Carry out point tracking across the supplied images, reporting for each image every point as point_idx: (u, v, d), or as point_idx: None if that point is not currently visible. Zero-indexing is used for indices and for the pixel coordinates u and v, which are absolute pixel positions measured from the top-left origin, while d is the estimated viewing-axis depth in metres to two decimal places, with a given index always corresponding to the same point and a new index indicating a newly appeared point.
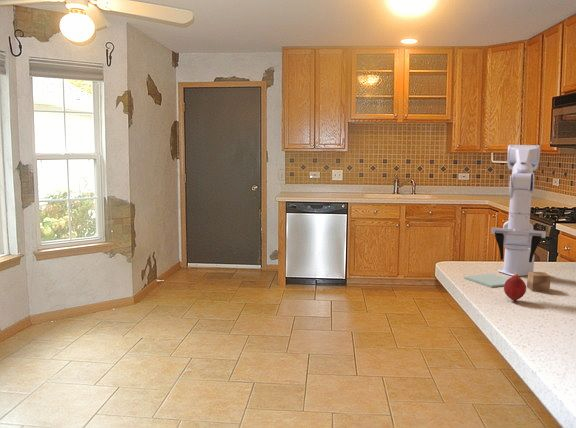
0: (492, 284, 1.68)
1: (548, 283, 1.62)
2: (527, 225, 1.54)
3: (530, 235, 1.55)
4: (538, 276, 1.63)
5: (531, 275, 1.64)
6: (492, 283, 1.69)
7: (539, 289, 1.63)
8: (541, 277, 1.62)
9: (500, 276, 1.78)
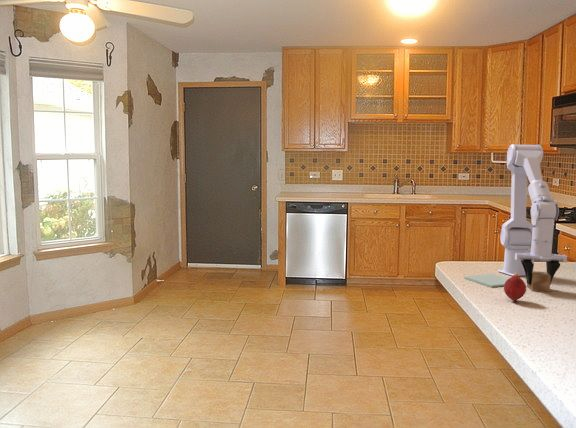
0: (492, 284, 1.68)
1: (548, 283, 1.62)
2: (551, 251, 1.62)
3: (552, 260, 1.64)
4: (538, 276, 1.63)
5: None
6: (492, 283, 1.69)
7: (539, 289, 1.63)
8: (541, 277, 1.62)
9: (500, 276, 1.78)
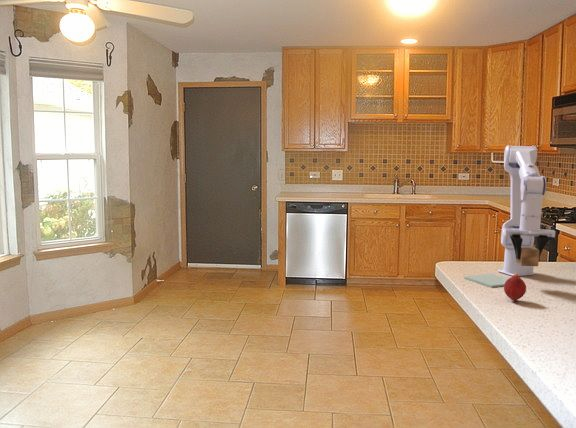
0: (492, 284, 1.68)
1: (537, 257, 1.64)
2: (539, 226, 1.64)
3: (540, 235, 1.65)
4: (527, 250, 1.64)
5: None
6: (492, 283, 1.69)
7: (528, 263, 1.64)
8: (530, 251, 1.64)
9: (500, 276, 1.78)
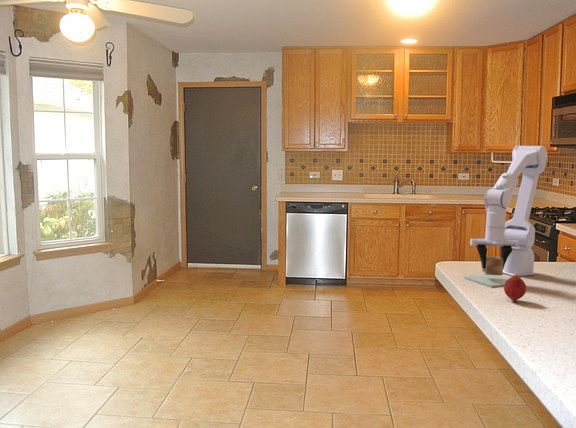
0: (492, 284, 1.68)
1: (501, 267, 1.71)
2: (503, 237, 1.71)
3: (505, 245, 1.72)
4: (491, 260, 1.71)
5: None
6: (492, 283, 1.69)
7: (493, 272, 1.71)
8: (494, 261, 1.71)
9: (500, 276, 1.78)
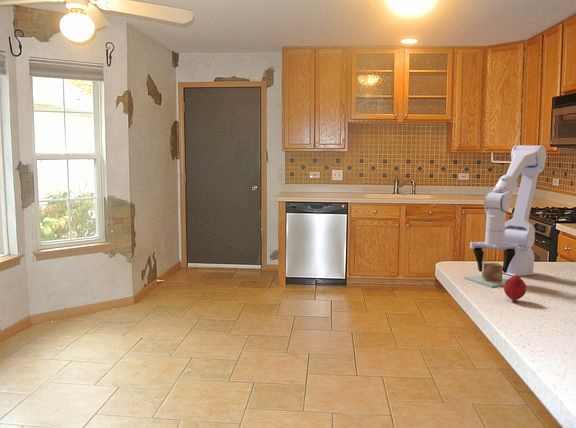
0: (492, 284, 1.68)
1: (500, 273, 1.71)
2: (503, 240, 1.71)
3: (505, 248, 1.72)
4: (491, 266, 1.71)
5: (485, 265, 1.73)
6: (492, 283, 1.69)
7: (492, 279, 1.72)
8: (494, 267, 1.71)
9: None
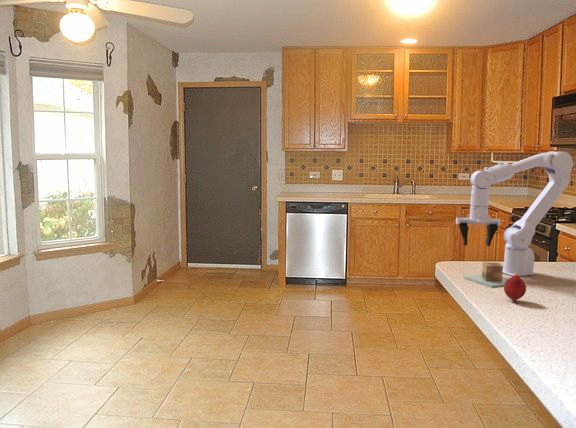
0: (492, 284, 1.68)
1: (500, 273, 1.71)
2: (487, 215, 1.82)
3: (488, 223, 1.83)
4: (491, 266, 1.71)
5: (485, 265, 1.73)
6: (492, 283, 1.69)
7: (492, 279, 1.72)
8: (494, 267, 1.71)
9: None
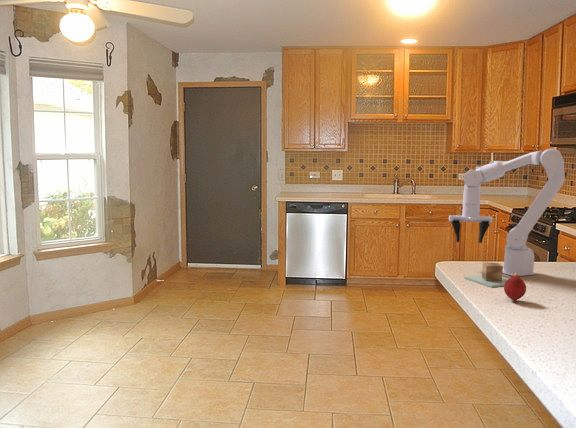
0: (492, 284, 1.68)
1: (500, 273, 1.71)
2: (478, 213, 1.88)
3: (480, 221, 1.89)
4: (491, 266, 1.71)
5: (485, 265, 1.73)
6: (492, 283, 1.69)
7: (492, 279, 1.72)
8: (494, 267, 1.71)
9: None
